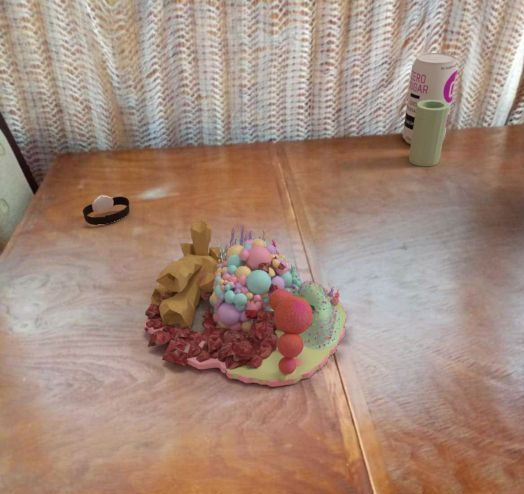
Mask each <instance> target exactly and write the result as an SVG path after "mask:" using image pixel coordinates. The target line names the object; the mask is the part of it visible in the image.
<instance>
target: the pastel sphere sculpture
mask: <svg viewBox="0 0 524 494" xmlns="http://www.w3.org/2000/svg"><path fill="white" fill-rule="evenodd" d="M189 230H190V239H191V241H192V242H191V243H189V242H181V243H179V246H180V249H181V251H182V255H183V256H182V257H181V258H179V259H178V260H175V261H172V262H171V263H170V264H168V265H167V266H166V267H165V268H164V269H163V270H162V271H161V272H160V273H159V275H158V276H157V278H156V280H155V281H156V282H157V283H158V285H157V286H156V287H155V288H154V290H153V292H152V294H151V300H150V304H149V307H148V308H147V309H146V310H145V314H144V316H146V317H147V319H146V320H144V321H143V322H142V325H143V330H144V331H145V332H147V333H148V334H151V335H150V338H149V341H148V344H147V348H150V347H155V346H156V347H157V346H162V345H163V346H164V345H166V344H167V343H168V345H167V346H166V349H165V351H164V354H163V355H162V358H161V360H162V361H165V362H168V363H173V364H176V365H178V366H179V365H180V366H183V367H186V366H187V365H189V366H191V367H193V368H196V369H198V370H206V369H213V368H217V369H220V372H221V373H223V374H226V376H227V378H228V379H231V380H232V379H233V380H238V381H241V382H243V383H244V384H252V383H255V384H259V385H261V386H263V385H265V386H266V385H267V386H269V387H281V386H289V385H294V384H297V383H298V382H300V381H301V380H306V379H309V378H311V377H312V376H313V374H314V373H315V372H316V371H319V370H321V369H322V368H323V367H324V366H325V365H326V363H327V362H328V361H329V357H330V356H332V355H334V354H335V353H336V351H338V346H339V344H340V343H341V342H342V341H343V339H344V338H345V336H346V330H345V328H346V323H347V314H346V312H345V309H344V307H343V305H342V304H341V301H340V300H339V298H340V292H339V291H340V288H338V289H337V290H336V292H335V289H334V286H332V287H331V288H330V289H331V290H330V289H328V288H326V287H324V286H323V284H321V283H319V282H317V281H315V280H305V281H302V280H301V279H300V278H298V277H299V274H298V273H297V272H295V271H296V270H295V269H296V268H295V266H294V265H293V264H292V263H291V264H290V265H289V264H288V262H287V261H286V256H285V255H284V254H280V252H279V250H277V243H276V242H275V241H274V239H273V238H272V240H271V242H272V244H268V243H267V242H266V239H267V229H262V238H261V235H259V237H258V238H257V237H256V238H253V230H252V228H250V229H249V233H245V223H242V225H241V226H240V236H239V237H240V238H239V237H238V236H235V234H236V229H235V225H233V226H232V230H231V232H230V240H229V247H228V245H226V246H225V247H224V250H223V245H222V244H221V243H219V246H214V247H212V246H211V247H210V243H211V241H212V226H211V223H210V222H207V221H204V220H198V221H196V222H195V223H192V224H191V225H190V228H189ZM244 233H245V234H244ZM247 234H248V235H247ZM234 238H235V239H234ZM237 239H238V242H239V244H237ZM334 292H335V293H334Z"/></svg>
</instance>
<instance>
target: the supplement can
mask: <svg viewBox="0 0 524 494" xmlns="http://www.w3.org/2000/svg"><path fill="white" fill-rule="evenodd" d="M458 71H459V67H458V63H457V57H456V56H455V55H453V54H449V53H442V52H426V53H422V54H419V55H417V56H416V59H415V60H414V61H413V64H412V65H411V72H410V78H409V79H410V81H409V85H408V86H409V87H408V94H407V100H406V101H407V102H406V109H405V115H404V121H403V130H402V138H403V140H404V141H405V142H406V143H407V144H408V145H411V140H412V134H413V127H414V120H415V113H416V107H417V103H418V102H420V101H423V100H440V101H444V102H447V103H448V104H449V106H450V107H449V112H448V117H447V123H446V128H445V134H444V139H443V141H444V140H445V139H446V133H447V129H448V125H449V124H448V123H449V118H450V112H451V107H452V101H453V96H454V91H455V86H456V81H457V75H458Z"/></svg>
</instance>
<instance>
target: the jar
mask: <svg viewBox="0 0 524 494" xmlns="http://www.w3.org/2000/svg"><path fill="white" fill-rule="evenodd" d="M449 107H450V106H449V104H448V103H447V102H444V101H440V100H423V101H420V102H418V103H417V107H416V113H415V120H414V127H413V134H412V140H411V144H410V148H409V154H408V156H409V157H408V161H409V163H411V164H412V165H413V166H418V167H433V166H436V165H438V164H439V163H440V160H441V154H442V148H443V144H444V140H445V139H444V134H445V128H446V123H447V117H448V112H449ZM445 135H446V134H445ZM443 139H444V140H443Z"/></svg>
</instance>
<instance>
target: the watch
mask: <svg viewBox="0 0 524 494" xmlns="http://www.w3.org/2000/svg"><path fill="white" fill-rule="evenodd" d="M114 206H125V208H123V209H121V210H119V211H116V212H114V213H111V214H106V215H104V216H89V215H91V214H92V213H97V214H105V213H107V211H108V212H109V211H110V210H111V209H112V208H113V207H114ZM130 211H131V209H130V200H129V198H127V197H125V196H114V197H113V196H112V197H111V196H108V195H105V194H104V195H103V194H100V195H99V196H97V197H96V198H95V199H94V201H92V203H90V204H88V205H85V207H84V208H83V209H82V214H83V217H84V221H85V222H86V223H87V224H89V225H92V226H99V225H98V224H105V225H107V224H106V223H110V224H112V223H111V222H114V221H116V222H118V221H120V220H122V219H124V218H126V217H127V216H128V215H129V213H130ZM104 212H105V213H104ZM125 216H126V217H125ZM121 218H122V219H121ZM119 219H120V220H119ZM117 220H118V221H117ZM114 223H115V222H114Z"/></svg>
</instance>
